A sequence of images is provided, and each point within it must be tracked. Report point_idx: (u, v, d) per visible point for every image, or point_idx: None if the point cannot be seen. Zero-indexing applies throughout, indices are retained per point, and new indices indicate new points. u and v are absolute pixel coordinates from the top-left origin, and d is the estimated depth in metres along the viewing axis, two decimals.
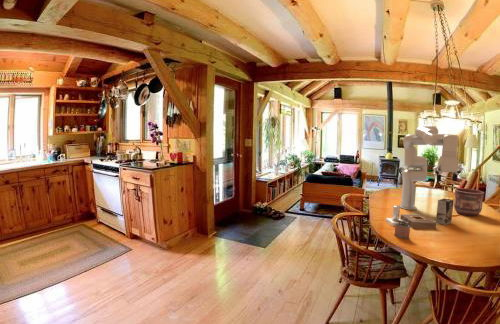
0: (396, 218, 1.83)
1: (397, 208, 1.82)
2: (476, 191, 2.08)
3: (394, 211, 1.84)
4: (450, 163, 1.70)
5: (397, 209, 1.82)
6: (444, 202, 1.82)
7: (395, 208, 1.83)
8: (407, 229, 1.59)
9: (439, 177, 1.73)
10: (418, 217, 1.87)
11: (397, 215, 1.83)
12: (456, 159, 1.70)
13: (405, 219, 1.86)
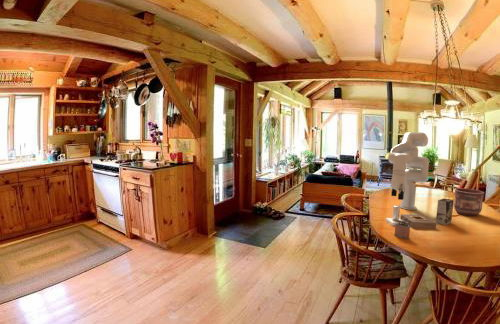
0: (396, 218, 1.83)
1: (397, 208, 1.82)
2: (476, 191, 2.08)
3: (394, 211, 1.84)
4: None
5: (397, 209, 1.82)
6: (444, 202, 1.82)
7: (395, 208, 1.83)
8: (407, 229, 1.59)
9: None
10: (418, 217, 1.87)
11: (397, 215, 1.83)
12: None
13: (405, 219, 1.86)
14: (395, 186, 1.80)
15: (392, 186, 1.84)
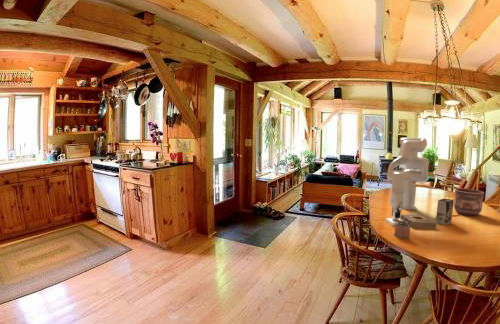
0: (396, 218, 1.83)
1: None
2: (476, 191, 2.08)
3: (394, 211, 1.84)
4: None
5: None
6: (444, 202, 1.82)
7: (395, 208, 1.83)
8: (407, 229, 1.59)
9: None
10: (418, 217, 1.87)
11: None
12: None
13: (405, 219, 1.86)
14: (394, 204, 1.82)
15: (391, 203, 1.86)
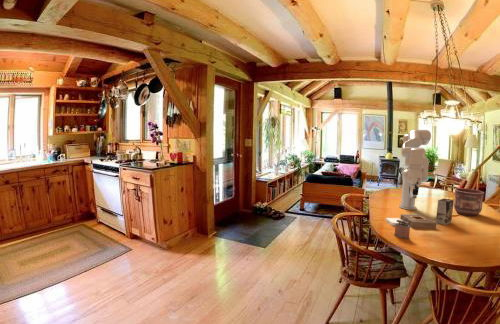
0: (414, 195, 1.81)
1: (415, 185, 1.80)
2: (476, 191, 2.08)
3: (412, 188, 1.81)
4: None
5: (415, 186, 1.80)
6: (444, 202, 1.82)
7: (413, 185, 1.80)
8: (407, 229, 1.59)
9: None
10: (418, 217, 1.87)
11: None
12: None
13: (405, 219, 1.86)
14: (412, 181, 1.79)
15: (408, 181, 1.83)
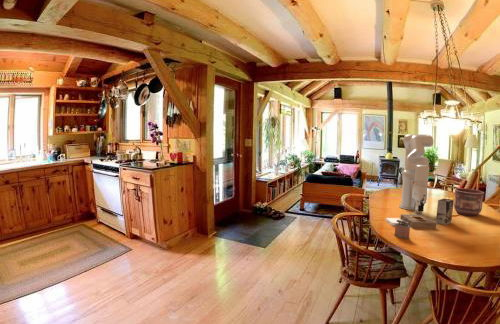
0: (419, 211, 1.81)
1: None
2: (476, 191, 2.08)
3: (417, 204, 1.82)
4: None
5: None
6: (444, 202, 1.82)
7: (418, 201, 1.81)
8: (407, 229, 1.59)
9: None
10: (418, 217, 1.87)
11: None
12: None
13: (405, 219, 1.86)
14: (417, 197, 1.80)
15: (413, 197, 1.84)
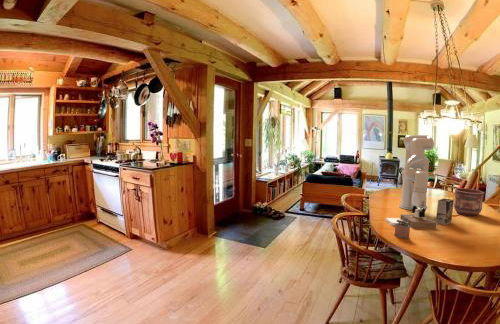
0: None
1: (419, 211, 1.82)
2: (476, 191, 2.08)
3: (416, 214, 1.83)
4: None
5: None
6: (444, 202, 1.82)
7: (417, 211, 1.82)
8: (407, 229, 1.59)
9: None
10: None
11: (419, 218, 1.82)
12: None
13: (405, 219, 1.86)
14: (416, 203, 1.81)
15: (413, 203, 1.85)
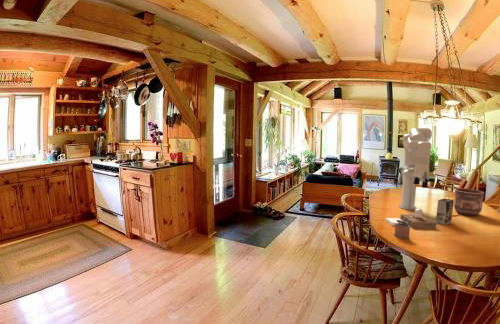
0: None
1: (419, 211, 1.82)
2: (476, 191, 2.08)
3: (416, 214, 1.83)
4: None
5: (419, 212, 1.82)
6: (444, 202, 1.82)
7: (417, 211, 1.82)
8: (407, 229, 1.59)
9: None
10: None
11: (419, 218, 1.82)
12: None
13: (405, 219, 1.86)
14: (419, 174, 1.78)
15: (415, 174, 1.83)
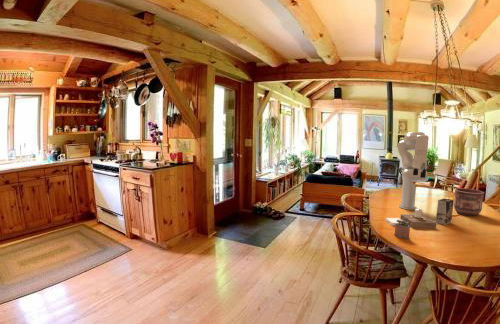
0: None
1: (419, 211, 1.82)
2: (476, 191, 2.08)
3: (416, 214, 1.83)
4: None
5: (419, 212, 1.82)
6: (444, 202, 1.82)
7: (417, 211, 1.82)
8: (407, 229, 1.59)
9: None
10: None
11: (419, 218, 1.82)
12: None
13: (405, 219, 1.86)
14: (417, 165, 1.92)
15: (414, 165, 1.96)
